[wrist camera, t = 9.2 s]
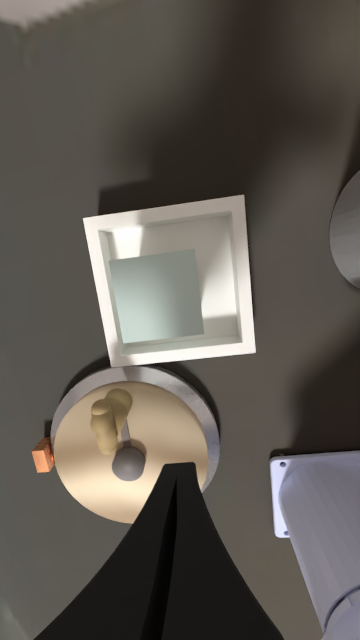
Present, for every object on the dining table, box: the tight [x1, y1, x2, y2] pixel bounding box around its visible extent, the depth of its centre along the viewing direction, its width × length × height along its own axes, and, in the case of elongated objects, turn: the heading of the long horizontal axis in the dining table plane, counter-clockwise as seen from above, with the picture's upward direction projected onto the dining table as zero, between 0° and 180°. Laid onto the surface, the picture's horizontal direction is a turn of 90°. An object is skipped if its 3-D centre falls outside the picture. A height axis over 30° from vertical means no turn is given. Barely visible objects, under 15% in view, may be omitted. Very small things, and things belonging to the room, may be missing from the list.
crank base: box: [32, 364, 220, 493], centre depth 22 cm, size 15×14×2 cm
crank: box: [54, 381, 208, 523], centre depth 19 cm, size 13×12×5 cm
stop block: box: [109, 249, 204, 343], centre depth 16 cm, size 4×4×7 cm
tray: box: [83, 195, 256, 368], centre depth 19 cm, size 10×10×2 cm
